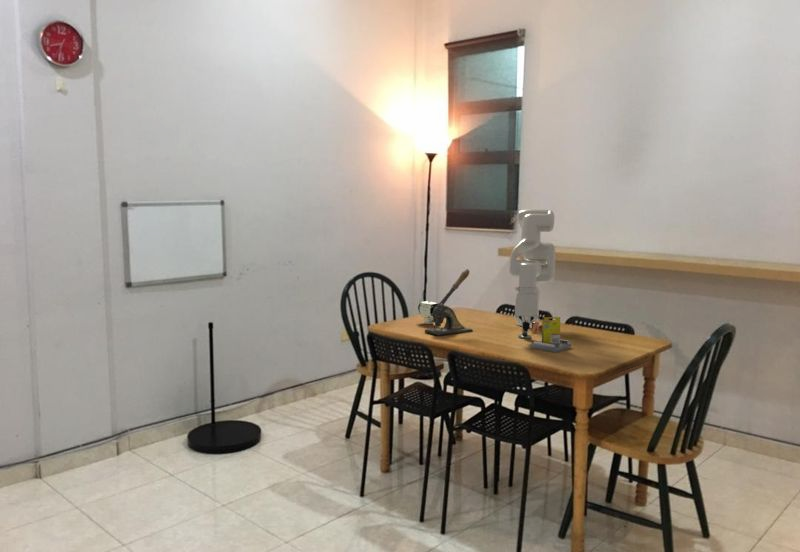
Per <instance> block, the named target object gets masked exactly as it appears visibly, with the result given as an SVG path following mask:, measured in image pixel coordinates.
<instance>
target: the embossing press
mask: <svg viewBox="0 0 800 552" xmlns="http://www.w3.org/2000/svg"><path fill="white" fill-rule="evenodd" d="M469 275H470V270H469V269H468V268H466V269H465V270H464V271H462V272H461V273H460V275H459V277H458V278H457V279H456V281H455V282H454V283H453V284H452V287H450V289H449V291H448V292H447V294H446V295H444V297H443V298H442V299H441V301H440V302H437V303H438V305H437V306H436V307H435V308H434V309H433V316H432V317H433V324H434V325H433V328H426V329H425V330H424V333H425V334H429V335H435V336H444V335H454V334H460V333H461V334H462V333H470V332H474V330H473V329H472V328H470V327H465V326H464V325H463V324H461V322H460V321H459V320H458V318H457V315H456V313H455V311H454V309H452V308H451V307H449V306H447V305H445V303H446V302H447V301H448V300H449V298H450V297H451V296H452V295H453V293H454V292H455V291H456V290H457V289H459V286H460V285H461V284H462V283H463V282H464V281H465V280H466V279H467V278H468V277H469ZM444 319H445V325H444V326H443V327H441V326H442V324H443V323H444ZM436 327H437V328H436Z"/></svg>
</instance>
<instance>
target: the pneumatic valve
mask: <svg viewBox="0 0 800 552" xmlns="http://www.w3.org/2000/svg"><path fill="white" fill-rule="evenodd" d="M438 303H439V302H433V301H431V300H426V301H419V304H418V305H417V310H418V313H419V315H423V323H424V324H425V325H433V324H434V322H433V309H434V308H435V307H436V306H437V305H438Z"/></svg>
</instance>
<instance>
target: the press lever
mask: <svg viewBox="0 0 800 552" xmlns="http://www.w3.org/2000/svg"><path fill="white" fill-rule="evenodd" d="M526 322H527V320H526ZM539 322H540V321H538V322H532V323H530V328H529V329H531V334H532V335H535V334H536V335H538V334H539V332H540V331H539V329H540V326H539ZM520 325H521V326H520V327H522V326H523V322H522V321H520Z"/></svg>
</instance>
